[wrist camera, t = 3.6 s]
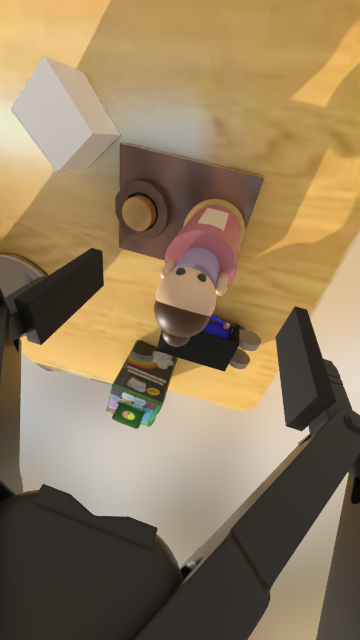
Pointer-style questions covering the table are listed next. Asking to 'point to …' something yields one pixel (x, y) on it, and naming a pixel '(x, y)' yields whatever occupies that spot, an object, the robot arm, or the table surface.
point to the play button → (139, 212)
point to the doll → (198, 269)
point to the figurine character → (215, 346)
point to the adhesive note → (64, 116)
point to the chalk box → (141, 386)
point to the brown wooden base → (175, 193)
